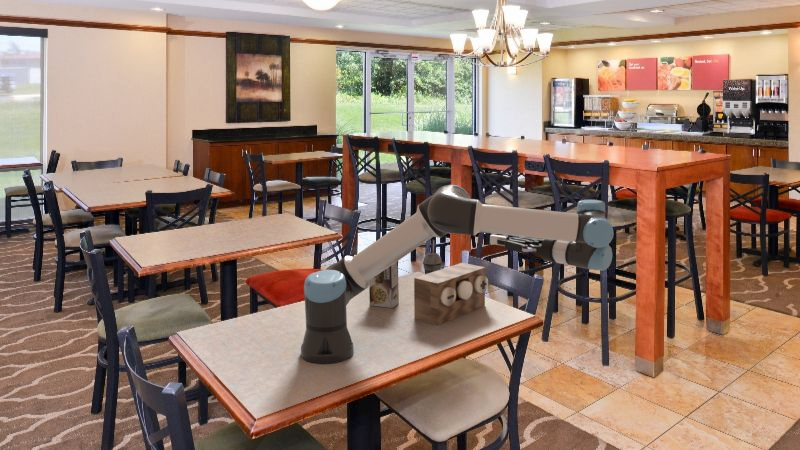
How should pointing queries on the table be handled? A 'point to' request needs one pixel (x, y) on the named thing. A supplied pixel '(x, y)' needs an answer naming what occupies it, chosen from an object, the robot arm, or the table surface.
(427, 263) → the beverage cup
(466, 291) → the plain button
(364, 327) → the table surface
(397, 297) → the coffee box
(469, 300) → the walnut console
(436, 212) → the robot arm
